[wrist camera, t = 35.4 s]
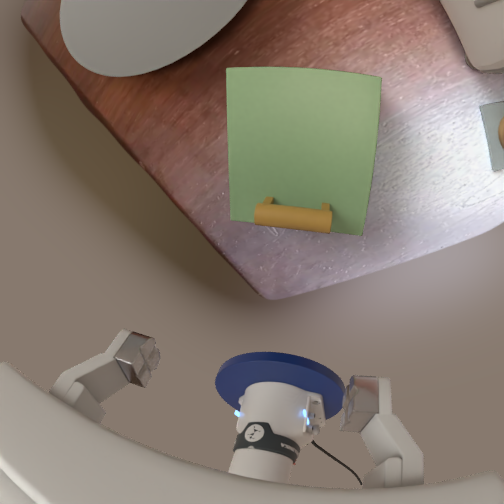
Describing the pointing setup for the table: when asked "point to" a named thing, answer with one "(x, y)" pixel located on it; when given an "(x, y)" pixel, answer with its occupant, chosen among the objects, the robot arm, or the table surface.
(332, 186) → the box lid
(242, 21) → the table surface
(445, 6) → the toaster
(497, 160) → the tile
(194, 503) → the robot arm
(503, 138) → the pepper mill
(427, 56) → the table surface
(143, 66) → the flat disc
